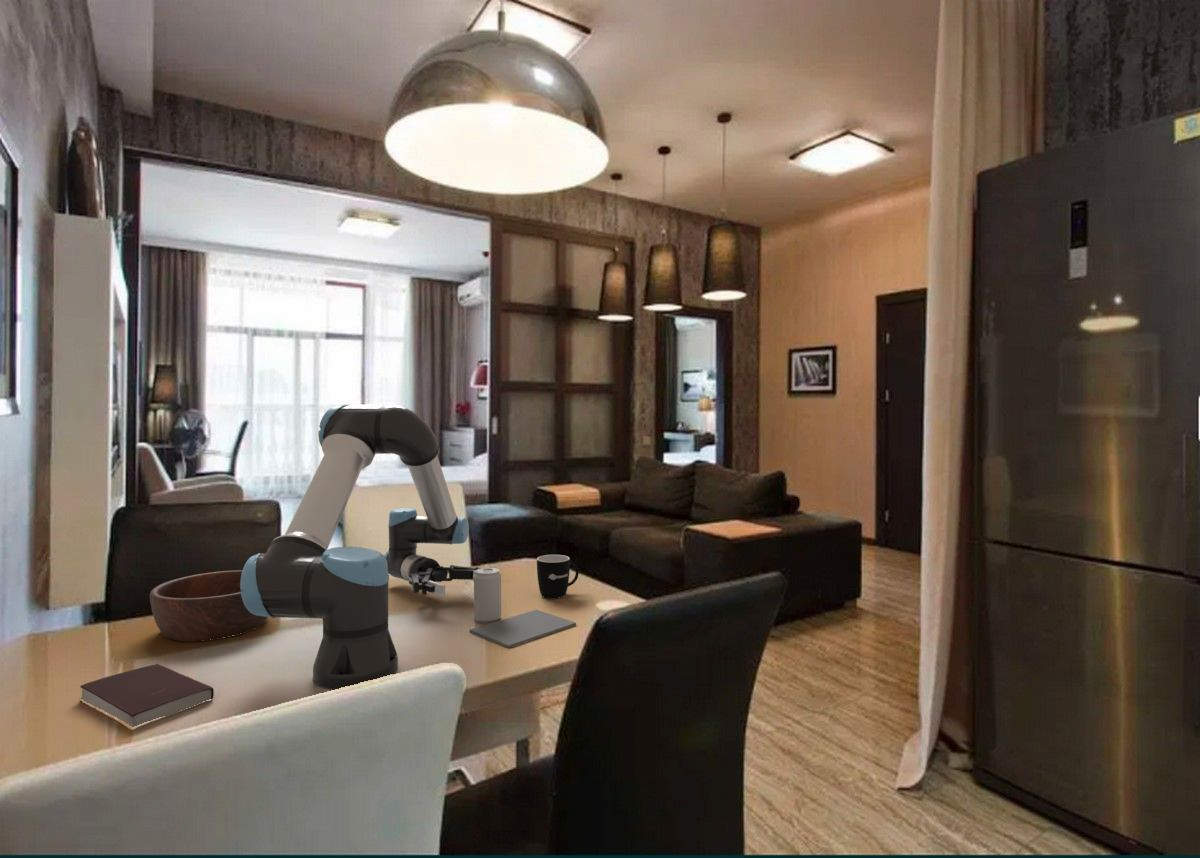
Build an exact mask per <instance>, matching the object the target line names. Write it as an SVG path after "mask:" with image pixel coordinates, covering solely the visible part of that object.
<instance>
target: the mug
mask: <svg viewBox="0 0 1200 858" xmlns="http://www.w3.org/2000/svg"><path fill="white" fill-rule="evenodd" d="M571 566H572V567H573V568H574V570H575V575H574V577H573V579H572V580H571V581H569V580H570V569H571V568H570V567H571ZM536 573H537V585H538V588H539V589H538V590H539V593H540V595H541V596H542V597H543V596H544V597H543V598H545V597H548V598H547V599H550V598H555V599H560V598H559V597H561V598H564V597H565V596H564V595H566V594H567V591H568V589H569V588H568V587H570V586H572V585H574V584H575V583H576V581H577V580H578V578H579V573H580V572H579V568H578V566H577V565H576V564H575V563H573V562H571V558H570V557H569V556H567V555H562V554H546V555H545V554H544V555H540V556H537V558H536ZM563 596H564V597H563Z"/></svg>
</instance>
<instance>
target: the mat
mask: <svg viewBox="0 0 1200 858" xmlns="http://www.w3.org/2000/svg"><path fill="white" fill-rule="evenodd" d="M574 625H575V626H577V622H576V621H572V620H569V619H566V618H563V617H560V616H557V615H554V614H551V613H548V612H545V611H541V610H539V609H534V610H531V611H527V612H523V613H521V614H520V613H519V614H518V615H517V614H516V615H514V616H510V617H507V618H503V619H500V620H497V621H495V622H492V623H485V624H484V625H480V626H477V627H473V628H470V629H469V633H471V634H473V635H476V636H478V637H481V638H483V639H486V640H488V641H489V642H490V641H491V642H492V643H495V644H498V645H500V646H502V647H505V648H508V649H510V647H511V648H513V647H516V646H519V645H522V644H525V643H528V642H530V640H531V641H534V640H537V639H539V637H540V638H542V636H543V637H546V636H549V635H552V634H554V633H557V632H559V631H563V630H566V629H569V628H571V626H572V627H575V626H574ZM568 627H569V628H568ZM551 633H552V634H551ZM548 634H549V635H548ZM545 635H546V636H545ZM536 638H537V639H536ZM533 639H534V640H533ZM527 641H528V642H527ZM524 642H525V643H524Z"/></svg>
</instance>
